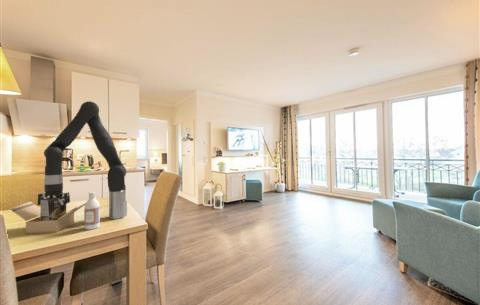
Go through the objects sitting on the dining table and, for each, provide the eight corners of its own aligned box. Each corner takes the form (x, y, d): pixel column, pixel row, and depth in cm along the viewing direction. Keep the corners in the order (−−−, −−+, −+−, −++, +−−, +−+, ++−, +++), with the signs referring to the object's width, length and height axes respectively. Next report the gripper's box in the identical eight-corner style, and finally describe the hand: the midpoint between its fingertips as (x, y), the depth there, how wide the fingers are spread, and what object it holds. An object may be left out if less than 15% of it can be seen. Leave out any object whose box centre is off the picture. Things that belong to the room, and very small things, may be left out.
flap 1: (45, 212, 115) (30, 201, 114) (26, 220, 103) (9, 207, 102) (45, 213, 115) (30, 202, 114) (25, 220, 103) (8, 208, 102)
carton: (74, 222, 119) (74, 212, 119) (56, 232, 105) (56, 220, 105) (47, 223, 116) (47, 213, 116) (25, 233, 103) (25, 222, 102)
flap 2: (58, 218, 106) (75, 207, 107) (73, 211, 118) (88, 201, 119) (58, 219, 106) (76, 208, 107) (74, 212, 118) (89, 202, 119)
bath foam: (81, 230, 107) (81, 193, 107) (88, 225, 114) (88, 191, 114) (96, 229, 109) (96, 193, 108) (102, 224, 115) (102, 190, 115)
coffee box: (49, 230, 106) (49, 200, 106) (39, 229, 107) (39, 199, 107) (67, 224, 115) (67, 196, 115) (57, 223, 116) (57, 195, 116)
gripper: (72, 181, 115) (73, 209, 116) (44, 182, 113) (44, 210, 113) (63, 183, 108) (64, 213, 108) (33, 184, 106) (33, 214, 106)
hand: (54, 211), depth 111 cm, fingers open, 8 cm apart
